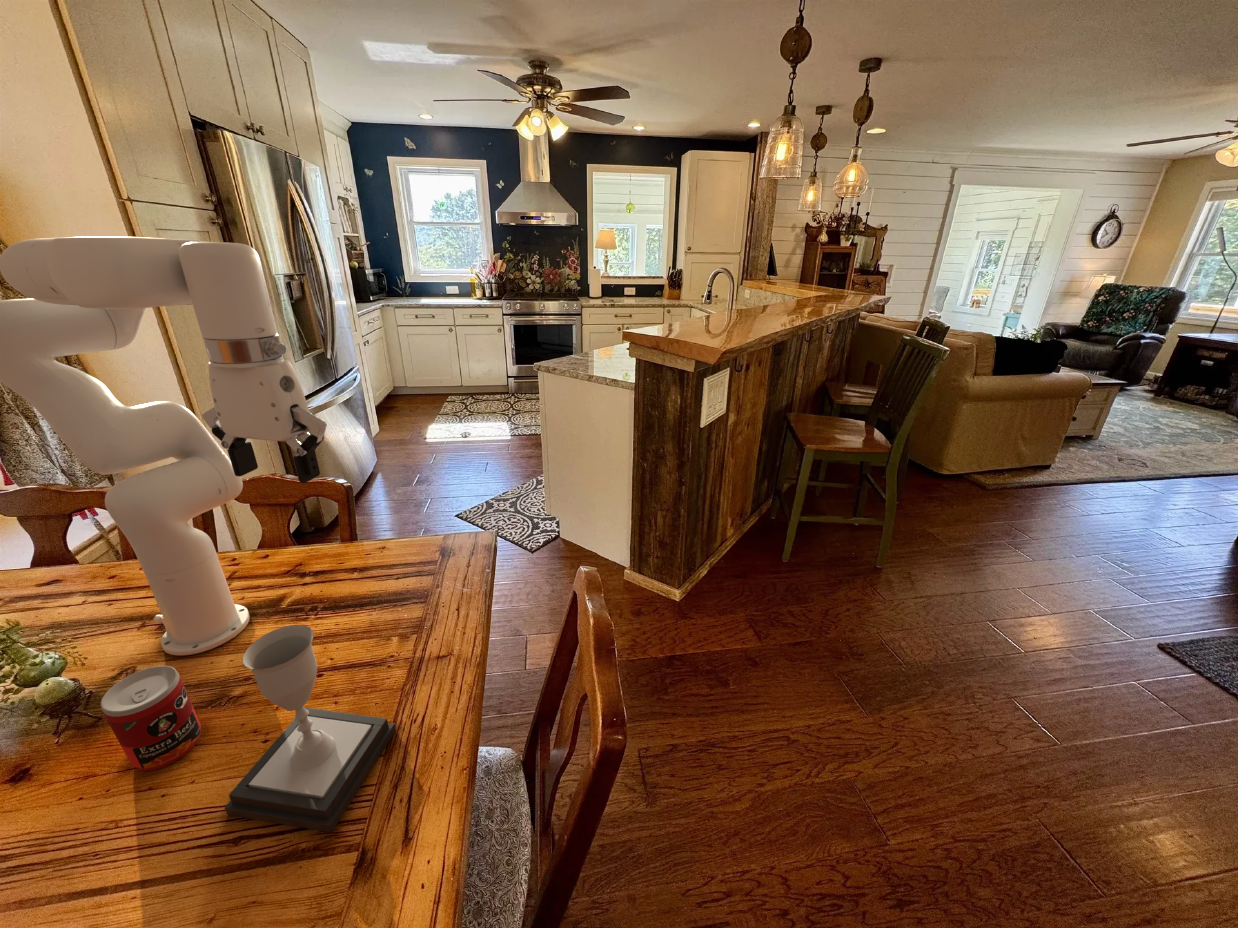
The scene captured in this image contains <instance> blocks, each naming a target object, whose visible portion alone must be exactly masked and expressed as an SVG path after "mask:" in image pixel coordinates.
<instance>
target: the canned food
mask: <svg viewBox="0 0 1238 928" xmlns="http://www.w3.org/2000/svg"><path fill="white" fill-rule="evenodd" d="M100 708H101V711H102V713H103V715H104V718H105V719H106V721H107V723H108V725H109V726H110V729H111V730H112V732H113V734H114V736H115V738H116V739H117V741H118V744H119V745H120V747H121V749H122V750H123V752H124V754H125V756H126V758H127V759H128V762H129V763H130V765H131V766H133V767H134V768H136V769H137V770H140V771H145V772H147V771H155V770H158V769H162V768H165V767H167V766H169V765H171V764H173V763H176V762H177V761H178V760H180V759H181V758H183V757H184V756H185V755H187V754H188V753H189V752H190V751H191V750H192V749H193V748H194V747H195V745H197V743H198V742H199V739H200V737H201V732H202V725H201V722H200V720H199V717H198V715H197V713H196V711H195V708H194V705H193V704H192V700H191V698H190V696H189V694H188V691H187V689H186V687H185V684H184V682H183V679H182V677H181V676H180V673H179V672H178V670H177V669H176V668H175V667H173V666H169V665H156V666H152V667H151V666H150V667H147V668H144V669H141V670H138V671H136V672H133V673H131V674H130V675H128V676H126V677H123V679H121V680H119V681H118V682H117V683H115V684H114V685H113V686H112V687H110V688H109V689H108V690H107V691H106V693H105V694H104V695H103V696H102V698H101V701H100Z"/></svg>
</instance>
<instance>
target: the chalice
mask: <svg viewBox="0 0 1238 928" xmlns="http://www.w3.org/2000/svg"><path fill="white" fill-rule="evenodd" d="M313 639H314V630H313V629H312V628H311V627H310V626H307V625H305V624H292V625H286V626H282V627H279V628H276V629H274V630H271V631H269V632H268V633H265V634H264V635H262V636H260V637H259V638H258V639H256V640H254V642H252V644H251V645H249V646H248V647H247V649H246V651H245V652H244V654H243V656H242V663H243V665H244V667H246V668H248V669H250V670H251V671H252V673H253V676H254V680H255V683H256V685H257V688H258V690H259V693H260V694H261V696H263V697H264V698H265V699H266V700H268V701H269V702H271V703H272V704H274V705H275V706H277V707H280V708H281V709H283V710H285V711H287V712H288V711H289V712H292V711H295V715H294V717H293V720H294V719H295V720H296V721H298V722H299V725H298V727H297V731H299V732H302V733H303V735H302V736H301V737H300V738H299V739H298V741H297V742H296V744H295V746H294V751H293V755H292V758H291V765H292V766H293V768H295V769H297V770H308V769H312V768H314V767H316V766H318V765H320V764H321V763H323V762H324V761H325V760H326V759H327V758H328V757H329V756H330V755H331V754H332V752H333V750H334V747H335V740H334V739H333V738H332V737H331V736H329V735H328V734H326V733H325V732H324V731H322V730H312V731H311V726H312V724H313V721H312V720H308V718H307V716H308V714H309V711H308V710H306V709H305V705H306V704H307V703H308V702H309V700H310V699H311V695H312V693H313V690H314V686H315V684H316V679H317V675H318V662H317V659H316V655H315V651H314V648H313V644H312V643H313Z"/></svg>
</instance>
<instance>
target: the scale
mask: <svg viewBox="0 0 1238 928" xmlns="http://www.w3.org/2000/svg"><path fill="white" fill-rule="evenodd" d="M304 708H305V709H306V710H308V711H309V714H308V716H310V717H317V718H324V719H331V720H338V721H345V722H353V723H360V724H367V725H371V726H372V729H371V731H370V732H369V733H368V735H367V736H366V738H365V739H364V741H363V742H362V744H361V745H360V747H359V748H358V750H357V751H356V752H355V754H354V755H353V757H352V758H351V760H350V761H349V763H348V764H347V766H346V767H345V769H344V770H343V772H342V773H341V774H340V776H339V777H338V779H337V780H336V782H335V783H334V785H333V786H332V788H331V789H330V791H329V792H328V793H327V795H326V796H325V798H324V799H323V800H321V799H314V798H308V797H302V796H296V795H290V794H283V793H277V792H271V791H265V790H259V789H252V788H250V787H249V783H250V782H251V781H252V780H253V778H254V777H255V776H256V775H257V774H258V773H259V771H260V770H261V769H262V768H263V767H264V765H265V764H266V763H267V762H268V761H269V759H270V758H271V757H272V756H273V755H274V754H275V752H276V751H277V750H278V749H279V748H280V746H281V745H282V744H283V743H284V742H285V741H286V739H287V738H288V737H289V736H290V735H291V733H292V732H293V731H294V730H295V729H296V728H297V726H298V725H299V722H298V721H296V720H295V719H294V718H293V720H292V721H291V722H290V724H289V725H287V727H286V728H285V729H284V730H283V731H282V732H281V734H280V735H279V736H278V737H277V739H276V740H275V741H274V742H273V743H272V744H271V745H270V747H269V748H268V749H267V750H266V751H265V752H264V754H263V755H262V756H261V757H260V758H259V759H258V760H257V762H256V763H255V764H253V766H252V767H251V768H250V769H249V771H248V772H247V773H246V774H245V776H244V777H243V778H242V779H241V780H240V781H239V782H238V783H237V785H236V786H235V787H234V788H233V789H232V791H231V792H230V793H229V794H228V797H229V801H228V803H227V804H226V805H225V806H224V811H225V813H226V815H227V816H231V817H237V818H243V819H249V820H255V821H261V822H266V823H271V824H272V823H273V824H278V825H285V826H290V827H295V828H296V827H297V828H302V829H308V830H313V831H318V832H325V833H332V834H333V832H334V830H335V829H336V827H337V826H338V824H339V822H340V821H341V819H342V817H343V816H344V814H345V813H346V811H347V809H348V808H349V806H350V804H351V803H352V801H353V800H354V798H355V797H356V795H357V794H358V792H359V790H360V789H361V787H362V786H363V784H364V783H365V781H366V779H367V778H368V776H369V775H370V773H371V772H372V770H373V768H374V766H375V765H376V763H377V762H378V760H379V758H381V755H382V754H383V752H384V751H385V749H386V748H387V746H388V744H389V743H390V741H391V740H392V738H393V737H394V735H395V733H396V732H397V729H396V724H395V723H393V722H388V718H384V717H377V716H371V715H363V714H357V713H349V712H343V711H342V712H341V711H333V710H327V709H319V708H313V707H307V706H306V707H305V706H304Z"/></svg>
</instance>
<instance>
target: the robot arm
mask: <svg viewBox="0 0 1238 928" xmlns="http://www.w3.org/2000/svg"><path fill="white" fill-rule="evenodd" d="M262 265H263V264H262V262H261V259H260V256H259V254H258V252H257V251H256V250H255V249H254V248H253V247H252V246H250V245H248V244H244V243H239V242H223V241H221V242H220V241H206V240H200V239H187V238H167V237H146V236H145V237H143V236H142V237H141V236H140V237H139V236H99V235H97V236H96V235H95V236H70V237H69V236H68V237H44V238H43V237H42V238H41V237H40V238H30V239H29V238H28V239H24V240H20V241H17V242H15V243H12V244H10V245H9V246H8V247H7V248H5V249H4V250H3V251H2V253H1V254H0V274H1V276H2V277H3V279H4V280H5V282H6V283H7V284H8V285H10V286H11V287H12V289H14V290H15V291H17V292H19V293H20V294H22V295H24V296H26V297H28V298H13V299H3V300H0V383H2V384H3V385H5V386H6V387H7V388H9V390H11V391H13V392H14V393H16V394H17V395H19V396H20V397H21V398H23V399H24V400H25V401H26V402H27V403H29V404H30V405H31V406H32V407H33V408H34V409H35V410H36V411H37V412H38V413H39V415H41V417H42V418H43V420H45V422H46V423H47V424H48V425H49V426H50V428H51V429H52V430H53V431H54V433H55V434H56V435H57V436H58V438H60V440H61V441H62V442H63V443H64V444H65V446H66V447H67V448H68V449H69V450H70V451H71V452H72V453H73V455H74V456H75V457H76V458H77V459H78V460H79V461H80V463H81V464H83V465H84V466H85V467H86V468H88V470H90V471H91V472H94V473H96V474H99V475H115V474H119V473H123V472H127V471H131V470H134V469H137V468H141V467H144V466H148V465H151V464H153V463H158V462H161V461H164V460H166V459H170V458H173V459H175V460H176V461H174V462H171V463H168V464H164V465H160V466H156V467H155V468H150V469H148V470H144V471H142V472H139V473H135V474H133V475H130V476H128V477H126V478H124V479H122V480H120V481H118V482H116V483H115V484H113V486H111V487H110V488H109V489H108V490H107V492H106V493H105V497H104V505H105V508H106V511H107V513H108V514H109V516H110V518H111V519H112V520H113V521H114V523H115V525H116V526H117V527H118V528H119V530H120V531H121V533H122V534H123V535H124V536H125V538H126V540H127V542H128V543H129V544H130V546H131V548H132V550H133V552H134V554H135V557H136V559H137V561H138V563H139V565H140V568H141V570H142V572H143V574H144V576H145V579H146V581H147V583H148V586H149V588H150V590H151V593H152V595H153V597H154V599H155V602H156V604H157V607H158V609H159V613H160V614H156V615H155V616H154V617H153V619H152V620H153V622H154V623H158V624H163V626H164V628H165V632H164V633H163V635H162V636H161V639H160V646H161V648H162V650H163V651H164V652H165V653H166V654H169V655H170V656H180V657H181V656H191V655H196V654H200V653H201V654H202V653H204V652H207V651H210V650H212V649H215V648H217V647H220V646H222V645H223V644H225V643H227V642H228V641H231V640H232V639H233V638H235V637H236V636H238V635H239V634H240V633H241V632H242V631H243V630H244V629H245V628H246V627H247V626H248V624H249V622H250V619H251V618H250V617H251V615H250V613H249V610H248V608H247V607H246V606H244V605H241V604H237V603H235V601H234V598H233V595H232V593H231V590H230V587H229V584H228V581H227V579H226V576H225V573H224V570H223V568H222V565H221V562H220V558H219V557H218V554H217V550H216V548H215V545H214V542H213V540H212V539H211V537H210V536H209V535H208V534H207V533H206V532H204V531H203V530H200V529H198V528H196V527H192V526H190V525H189V524H188V522H189V521H190V520H191V519H193V518H194V519H195V518H196V517H198V516H199V515H202V514H204V513H207V512H209V511H211V510H213V509H216V508H219V507H220V506H223V505H225V504H228V503H229V502H232V501H233V500H235V499H236V498H237V497H239V496H240V495H241V493H242V491H243V487H244V483H243V479H242V477H243V476H245V475H247V474H249V473H251V472H254V471H256V470H258V468H259V465H258V462H257V461H258V460H257V457H256V454H255V451H254V447H253V444H252V442H251V441H248V439H250V440H260V441H272V442H285V443H286V444H287V445H288V446H289V447H290V448H291V449H292V451H294V453H296V454H295V455H293V456H292V459H293V462H294V466H295V471H296V474H297V478H298V482H299V483H300V484H306V483H309V482H310V481H313V479H315V478H317V477H319V476H320V475H321V470H320V466H319V462H318V457H317V453H316V450H318V449H319V448H320V445H321V443H322V442H323V441H324V439H325V436H324V435H325V432H326V429H327V426H328V425H327V422H326V421H325V420H324V419H322V418H320V417H318V416H316V415H315V414H312V413H311V412H310V409H309V406H308V403H307V400H306V396H305V394H304V390H303V387H302V385H301V382H300V380H299V376H298V375H297V373H296V370H295V369H294V366H293V365H292V362H291V361H290V360H289V359H285V358H284V355H285V354H286V352H287V347H286V346H285V344H284V343H281V342H280V337H279V334H278V329H277V324H276V320H275V316H274V311H273V308H272V304H271V299H270V294H269V290H268V286H267V282H266V278H265V274H264V270H263V266H262ZM174 306H176V307H177V306H193V310H194V313H195V314H194V315H195V317H196V321H197V324H198V327H199V330H200V334H201V337H202V341H203V343H204V347H205V350H206V354H207V357H208V360H209V362H208V364H207V365H208V379H209V385H210V392H211V397H212V402H213V406H214V407H212V408H210V409H209V410H207V411H205V412H204V413H203V414H202V415H201V417H202V419H203V420H204V422H205V423H206V425H207V426H208V427H209V428H210V429H211V432H210V431H208V429H207V428H206V427H205V425H204V423H202V422H201V420H200V419H199V418H198V417H197V416H196V414H195V413H193V412H192V411H191V410H190V409H189V408H187V407H186V406H184V405H183V404H180V403H177V402H176V401H175V402H174V401H169V400H162V401H161V400H160V401H152V402H148V403H143V404H137V405H133V406H127V405H124V404H123V403H121V402H120V400H118V399H117V398H116V397H115V395H114V394H113V392H112V391H111V390H110V389H109V387H107V386H106V384H105V383H104V382H102V381H101V380H99V379H98V378H97V377H94V376H93V375H90V374H88V373H87V372H85V371H82V370H81V369H79V368H75V367H73V366H72V365H71V366H70V365H68V364H64V363H62V362H60V361H57V360H56V359H55V358H59V357H66V356H76V355H82V354H90V353H98V352H105V351H107V352H108V351H113V350H114V351H115V350H119V349H123V348H126V347H127V346H129V345H130V344H132V343H133V341H134V340H135V338H136V337H137V334H138V331H139V329H140V325H141V323H142V319H143V317H144V314H145V311H146V309H148V308H160V307H174ZM211 433H212V434H213V435H214V436H215V438H217V439H218V440H219V441H220V444H219V443H218V442H217V441H216V439H215V438H214V436H213V435H212V434H211ZM297 438H299V439H300V440H301V441H299V440H298V439H297ZM301 442H302V443H301ZM220 445H221V446H220ZM224 449H225V450H227V453H226V452H225V451H224ZM227 454H228V455H227Z"/></svg>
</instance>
